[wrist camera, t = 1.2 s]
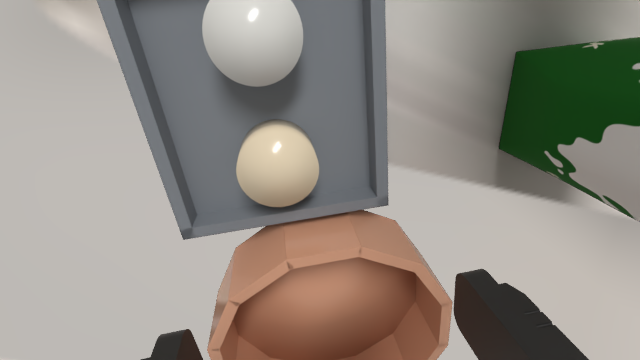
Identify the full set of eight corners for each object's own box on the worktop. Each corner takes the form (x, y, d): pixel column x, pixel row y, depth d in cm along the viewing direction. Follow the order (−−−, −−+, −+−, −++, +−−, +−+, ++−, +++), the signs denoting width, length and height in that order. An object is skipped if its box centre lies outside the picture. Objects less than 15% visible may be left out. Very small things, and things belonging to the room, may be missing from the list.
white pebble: (200, -11, 18) (189, -17, 15) (292, -21, 18) (296, -28, 16) (222, 83, 20) (216, 92, 17) (304, 73, 20) (308, 80, 18)
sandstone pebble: (232, 124, 21) (227, 138, 19) (309, 114, 21) (314, 126, 19) (248, 192, 23) (245, 213, 21) (317, 181, 24) (323, 200, 21)
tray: (103, -41, 17) (78, -51, 15) (369, -68, 18) (383, -81, 16) (191, 219, 25) (183, 239, 22) (377, 189, 26) (388, 205, 23)
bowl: (196, 228, 25) (178, 278, 20) (424, 190, 26) (459, 229, 21) (245, 375, 33) (241, 437, 28) (418, 340, 34) (443, 393, 29)
